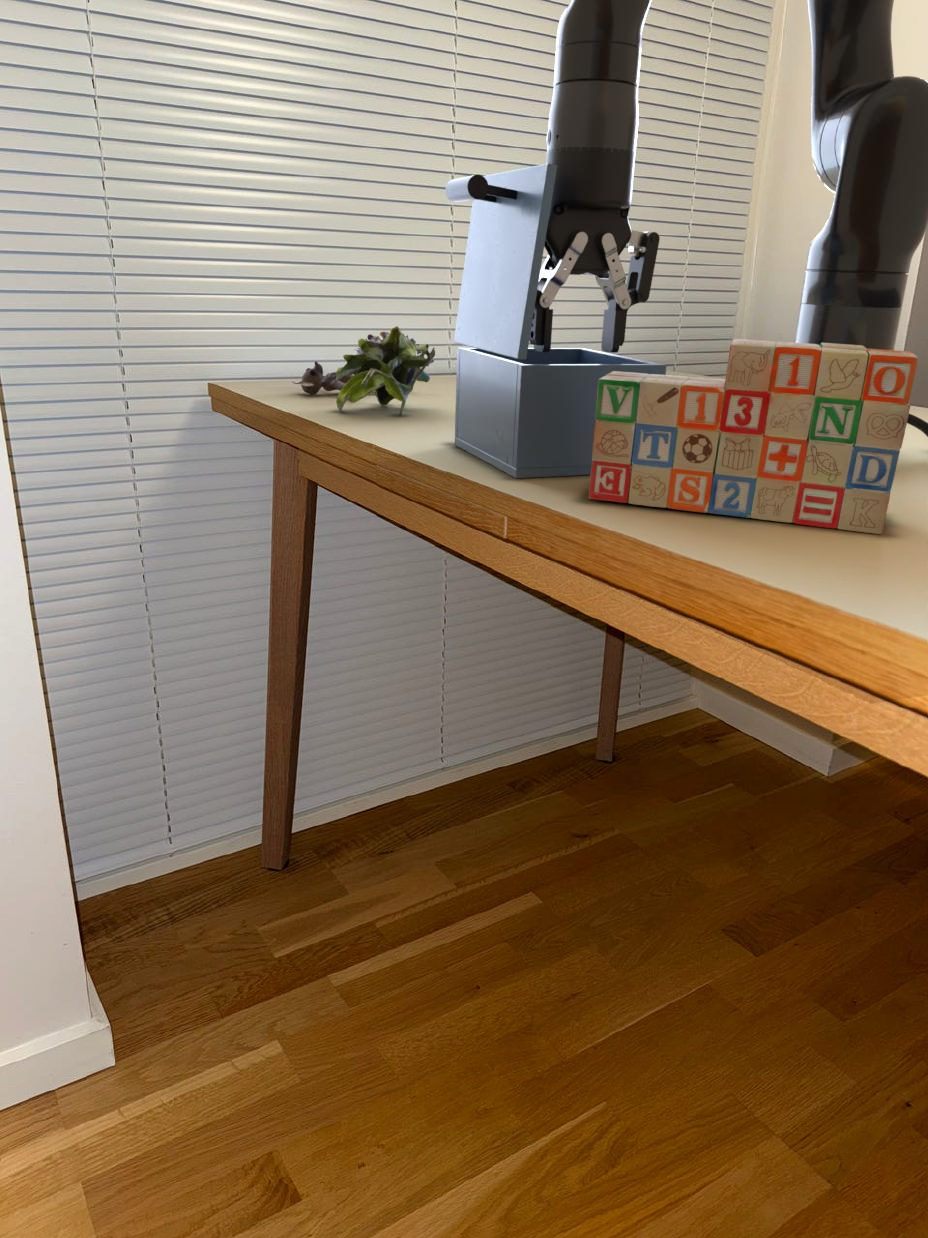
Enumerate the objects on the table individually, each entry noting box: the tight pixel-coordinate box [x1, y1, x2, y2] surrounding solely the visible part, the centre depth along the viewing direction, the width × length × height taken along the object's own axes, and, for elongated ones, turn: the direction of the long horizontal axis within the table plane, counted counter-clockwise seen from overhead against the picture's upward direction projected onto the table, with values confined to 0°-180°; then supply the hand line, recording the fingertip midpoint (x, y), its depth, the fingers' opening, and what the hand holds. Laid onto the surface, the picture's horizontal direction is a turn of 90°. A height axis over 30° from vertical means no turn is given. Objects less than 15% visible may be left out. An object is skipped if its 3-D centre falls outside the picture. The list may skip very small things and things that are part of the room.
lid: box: [445, 163, 557, 360], centre depth 79 cm, size 14×16×5 cm
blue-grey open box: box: [454, 347, 667, 479], centre depth 86 cm, size 14×16×9 cm
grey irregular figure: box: [291, 361, 354, 396], centre depth 125 cm, size 18×4×14 cm
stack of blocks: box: [588, 338, 919, 535], centre depth 69 cm, size 21×6×12 cm, turn 71°
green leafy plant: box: [335, 325, 436, 417], centre depth 110 cm, size 11×11×12 cm
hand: (576, 350), depth 85 cm, fingers open, 6 cm apart
